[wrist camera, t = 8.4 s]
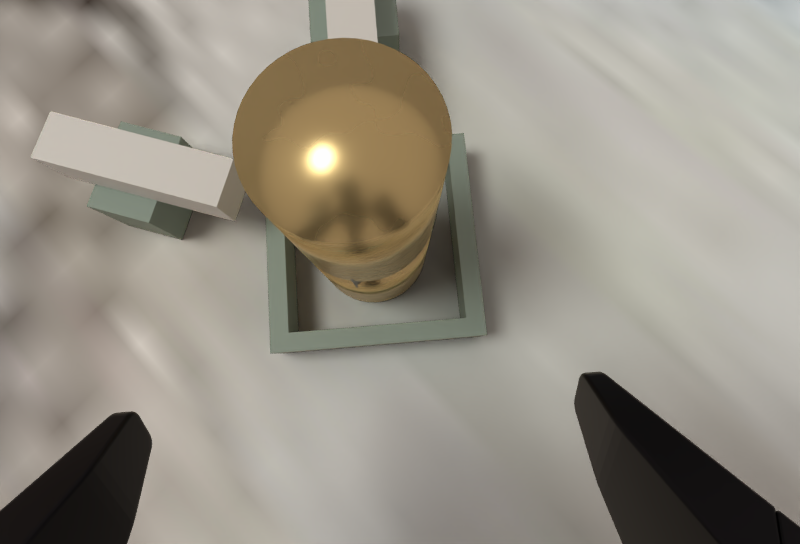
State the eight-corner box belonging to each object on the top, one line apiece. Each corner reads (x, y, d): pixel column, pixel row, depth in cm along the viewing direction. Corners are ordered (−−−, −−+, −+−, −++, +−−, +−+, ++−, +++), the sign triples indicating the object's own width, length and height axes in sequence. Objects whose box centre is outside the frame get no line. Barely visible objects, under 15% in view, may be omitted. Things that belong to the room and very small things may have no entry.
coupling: (446, 258, 22) (497, 152, 10) (364, 323, 22) (320, 289, 10) (382, 181, 23) (361, -1, 11) (301, 242, 22) (189, 120, 11)
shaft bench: (479, 336, 22) (501, 332, 17) (106, 368, 21) (18, 372, 16) (441, 0, 25) (451, -88, 20) (114, 25, 24) (42, -58, 20)
